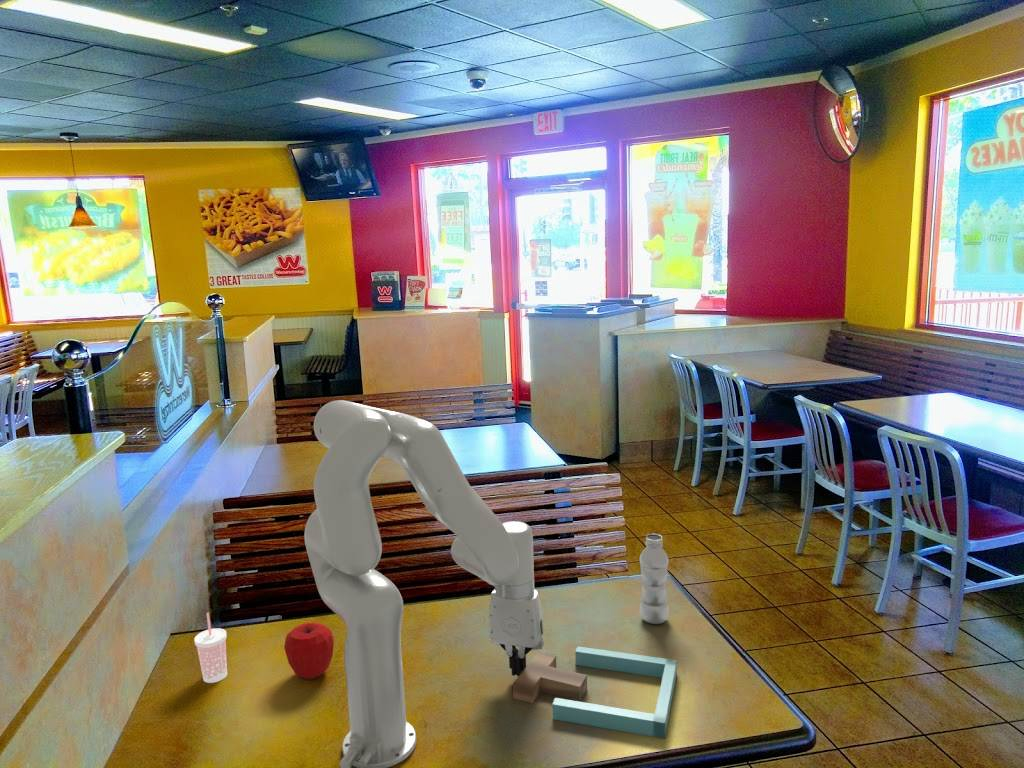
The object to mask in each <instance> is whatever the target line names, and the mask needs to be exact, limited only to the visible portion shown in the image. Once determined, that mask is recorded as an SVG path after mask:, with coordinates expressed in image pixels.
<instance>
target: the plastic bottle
mask: <svg viewBox="0 0 1024 768" xmlns="http://www.w3.org/2000/svg"><path fill="white" fill-rule="evenodd" d="M663 545H664V543H663V535H660V534H657V533H650V534H646V537H645V546H646V547H645V548H644V549H643V550H642V551H641V553H640V555H639V566H640V572H641V573H640V574H641V581H642V582H641V584H642V586H641V598H640V603H639V614H640V617H641V618H642V620H643V621H644V622H646V623H648V624H652V625H659V624H663V623H665V622H666V621H667V619H668V618H669V612H670V611H669V610H670V609H669V604H668V597H667V596H668V595H667V575H668V569H669V557H668V554H667V552H666V550H664V548H663Z"/></svg>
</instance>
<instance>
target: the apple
mask: <svg viewBox="0 0 1024 768" xmlns="http://www.w3.org/2000/svg"><path fill="white" fill-rule="evenodd" d="M334 645H335V637H334V635H333V631H332V630H331V629H330V627H328V626H326V625H325V624H323V623H319V622H305V623H302V624H299V625H296V626H295V627H293V628H292V629H291V630H290V631H289V632H288V633H287V634H286V636H285V641H284V646H283V649H284V651H285V656H286V659H287V662H288V664H289V666H290V667H291V669H292V670H293V672H294V674H295V675H297V676H298V677H300V678H302V679H304V680H309V681H310V680H314V679H317V678H318V677H320V676H321V675H322V674H324V673H325V672H326V671H327V670H328V669H329V667H330V664H331V662H332V658H333V655H334Z"/></svg>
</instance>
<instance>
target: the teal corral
mask: <svg viewBox="0 0 1024 768" xmlns="http://www.w3.org/2000/svg"><path fill="white" fill-rule="evenodd" d="M574 653H575V665H576V666H579V667H589V668H592V669H593V668H595V669H601V670H608V671H614V672H619V673H620V672H621V673H628V674H633V675H641V676H649V677H654V678H661V683H660V686H659V687H660V688H659V693H658V696H657V701H656V705H655V711H654V713H650V712H644V711H638V710H632V709H627V708H621V707H620V708H619V707H614V706H608V705H601V704H596V703H589V702H584V701H578V700H574V699H566V698H561V697H560V698H559V697H555V698H554V699H553V701H552V704H551V705H552V720H557V721H563V722H567V723H568V722H569V723H572V724H573V723H574V724H580V725H583V726H590V727H597V728H602V729H608V730H614V731H620V732H625V733H631V734H636V735H642V736H647V737H654V738H658V739H660V738H661V739H666V734H667V730H668V723H669V718H670V712H671V708H672V707H671V706H672V701H673V697H674V696H673V695H674V691H675V684H676V679H677V673H678V672H677V668H678V667H677V666H678V663H677V662H678V661H677V659H670V658H663V657H658V656H657V657H655V656H649V655H641V654H635V653H628V652H627V653H626V652H620V651H615V650H613V651H612V650H606V649H599V648H592V647H584V646H577V647H576V649H575V652H574Z"/></svg>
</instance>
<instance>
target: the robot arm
mask: <svg viewBox="0 0 1024 768" xmlns="http://www.w3.org/2000/svg"><path fill="white" fill-rule="evenodd" d="M313 421H314V422H313V431H314V435H315V437H316V439H317V441H318V442H319V443H320V444H321V445H322V446H324V447H325V448H327V450H326V452H325V454H324V456H323V457H322V458H321V461H320V463H319V465H318V468H317V469H316V472H315V475H314V480H313V495H314V496H313V497H314V501H315V505H316V509H315V510H314V511H313V512H312V513H311V514H310V515H309V517H308V519H307V521H306V524H305V528H304V544H305V548H306V552H307V556H308V559H309V560H308V561H309V563H310V567H311V570H312V575H313V578H314V581H315V585H316V588H317V591H318V593H319V596H320V598H321V600H322V601H323V603H324V604H325V605H326V607H328V608H329V609H330V610H331V611H332V612H333V613H334V614H336V615H337V616H338V618H339V619H341V620H342V622H344V624H345V628H346V638H345V641H344V642H345V643H344V648H343V661H344V670H345V681H346V693H347V705H348V706H347V707H348V717H349V732H348V733H347V734H346V735H345V737H344V739H343V741H342V744H341V745H342V746H341V747H342V754H343V757H342V758H341V760H339V763H338V764H339V767H340V768H352V766H353V767H355V768H390V767H393V766H396V765H397V764H400V763H401V762H403V761H404V760H406V759H407V758H408V757H410V755H411V754H412V753H413V752H414V750H415V748H416V745H417V733H416V729H415V728H414V727H413V725H412V724H410V723H409V722H408V721H407V716H406V715H407V714H406V712H407V711H406V700H405V685H404V670H403V659H402V642H401V640H402V623H403V616H404V600H403V596H402V595H401V593H400V591H399V589H398V587H397V586H396V585H395V584H394V583H393V582H392V581H391V580H390V579H389V578H387V577H386V576H385V575H383V574H382V573H381V572H379V571H378V570H377V569H375V568H376V567H377V566H378V564H379V562H380V560H381V556H382V551H383V545H382V539H381V534H380V530H379V527H378V523H377V522H378V521H377V519H376V516H375V510H374V507H373V502H372V499H371V492H370V478H371V475H372V473H373V470H374V469H375V467H376V465H377V464H378V462H379V461H380V460H381V458H385V459H388V460H391V461H394V462H395V463H397V464H399V465H400V466H401V467H402V469H403V470H404V472H405V474H406V476H407V478H408V479H409V481H410V483H411V484H412V486H413V487H414V489H415V491H416V493H417V494H418V496H419V497H420V499H421V502H422V504H424V506H425V508H426V510H427V511H428V512H429V513H430V514H431V515H432V516H433V517H434V518H435V519H436V520H437V521H438V522H440V523H441V524H442V525H443V526H445V528H447V529H449V531H451V532H452V533H454V535H456V537H455V538H454V539H453V542H452V544H451V547H450V553H451V554H450V555H451V557H452V559H453V561H454V562H455V563H456V565H458V566H459V567H460V568H462V569H463V570H465V571H466V572H469V574H472V575H475V576H477V578H479V579H480V580H483V581H484V582H486V583H487V584H488V585H491V586H493V587H494V589H493V590H492V592H491V594H490V600H489V609H488V639H489V641H490V643H491V644H492V643H493V644H495V645H498V646H500V647H501V648H502V649H503V651H505V653H506V656H507V657H508V661H509V662H508V663H509V664H508V667H509V669H511V676H514V677H515V676H517V677H519V675H520V674H521V673H522V671H523V670H524V669H525V668H526V666H527V655H528V654H529V653H530V652H531V651H533V650H534V651H535V650H537V651H539V650H542V649H543V648H544V645H545V643H544V639H543V635H544V619H543V612H542V606H541V601H540V596H539V592H538V591H537V589H535V574H534V573H535V571H534V568H535V567H534V537H533V530H532V528H531V526H530V525H529V524H527V523H526V522H523V521H519V520H517V521H516V520H515V521H513V520H511V521H505V522H502V521H500V519H499V518H498V516H497V515H496V514H495V513H494V512H493V510H492V509H491V508H490V507H489V506H488V505H487V504H486V502H485V501H484V499H482V497H481V496H480V495H479V494H478V492H477V491H475V489H474V488H473V487H472V486H471V485H470V483H469V481H468V479H467V477H466V476H465V474H464V473H463V471H462V469H461V467H460V465H459V464H458V462H457V460H456V458H455V456H454V455H453V452H452V450H451V449H450V447H449V445H448V442H446V440H445V438H444V436H443V435H442V432H440V430H439V429H438V428H437V426H436V425H435V424H433V423H432V422H430V421H428V420H425V419H422V418H419V417H416V416H413V415H410V414H406V413H403V412H397V411H392V410H387V409H383V408H378V407H373V406H370V405H366V404H365V405H364V404H361V403H356V402H353V401H349V400H343V399H339V400H332V401H329V402H328V403H325V404H324V405H323V406H322V407H320V409H319V410H318V411H317V412H316V415H315V417H314V420H313ZM517 647H518V648H517Z"/></svg>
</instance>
